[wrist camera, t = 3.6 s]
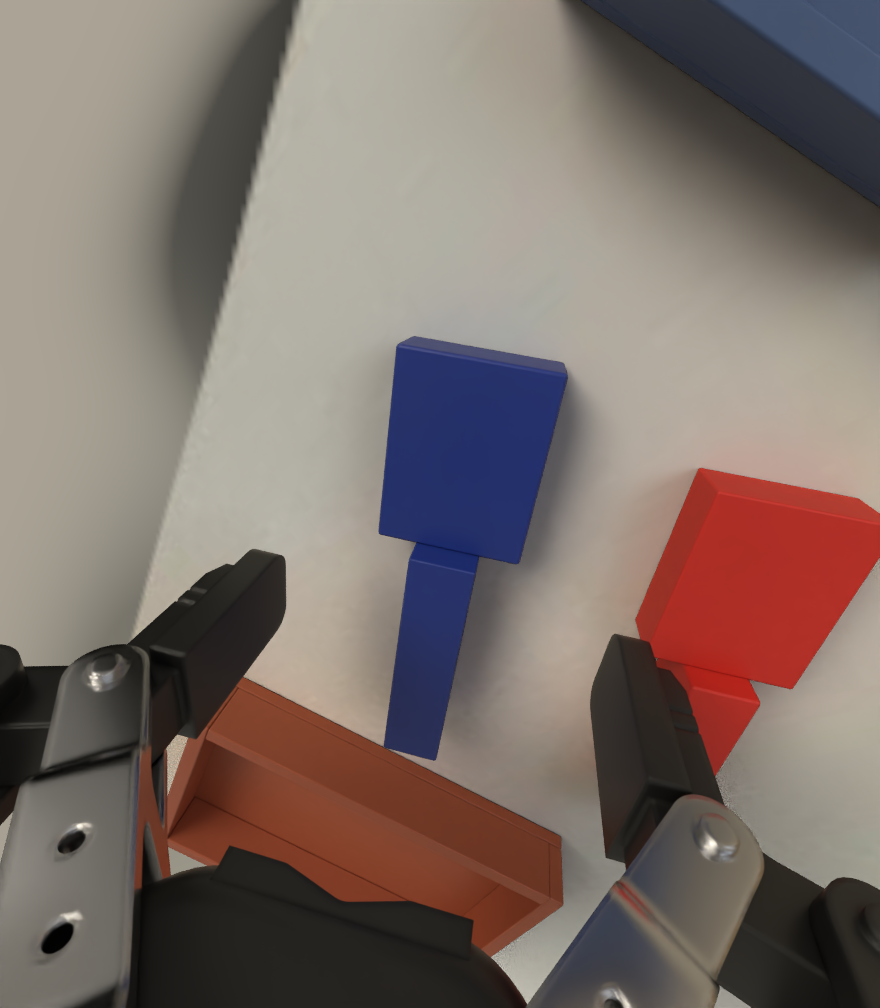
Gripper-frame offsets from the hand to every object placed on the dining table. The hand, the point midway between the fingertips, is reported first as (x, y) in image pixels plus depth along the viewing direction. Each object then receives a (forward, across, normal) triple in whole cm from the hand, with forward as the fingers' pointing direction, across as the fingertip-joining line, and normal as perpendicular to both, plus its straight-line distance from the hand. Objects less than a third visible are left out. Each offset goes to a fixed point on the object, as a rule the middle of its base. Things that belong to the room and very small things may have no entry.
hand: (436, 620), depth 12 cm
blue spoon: (+4, 0, +1) cm, 4 cm away
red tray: (+4, +2, +15) cm, 15 cm away
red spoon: (+4, -8, +3) cm, 9 cm away
